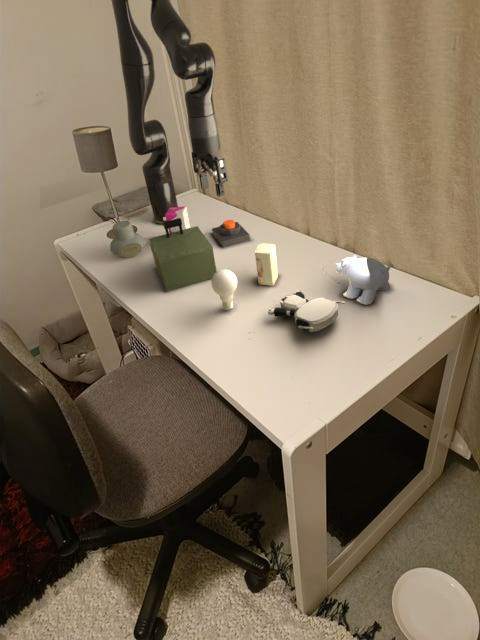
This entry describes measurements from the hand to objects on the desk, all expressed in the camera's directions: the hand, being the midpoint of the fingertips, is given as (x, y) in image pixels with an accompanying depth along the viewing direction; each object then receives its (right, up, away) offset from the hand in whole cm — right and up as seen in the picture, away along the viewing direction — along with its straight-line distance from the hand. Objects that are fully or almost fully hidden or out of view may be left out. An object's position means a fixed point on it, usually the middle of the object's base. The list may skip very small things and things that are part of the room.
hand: (212, 192), depth 126 cm
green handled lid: (-9, -16, -3) cm, 18 cm away
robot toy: (+23, -36, -21) cm, 48 cm away
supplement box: (-11, -12, +18) cm, 24 cm away
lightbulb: (+5, -34, -14) cm, 37 cm away
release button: (+4, -7, +15) cm, 17 cm away
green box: (-8, -23, +2) cm, 24 cm away
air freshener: (-28, -15, +16) cm, 35 cm away
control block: (+5, -10, +17) cm, 20 cm away
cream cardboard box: (+15, -26, -6) cm, 31 cm away
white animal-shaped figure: (+39, -29, -14) cm, 50 cm away
